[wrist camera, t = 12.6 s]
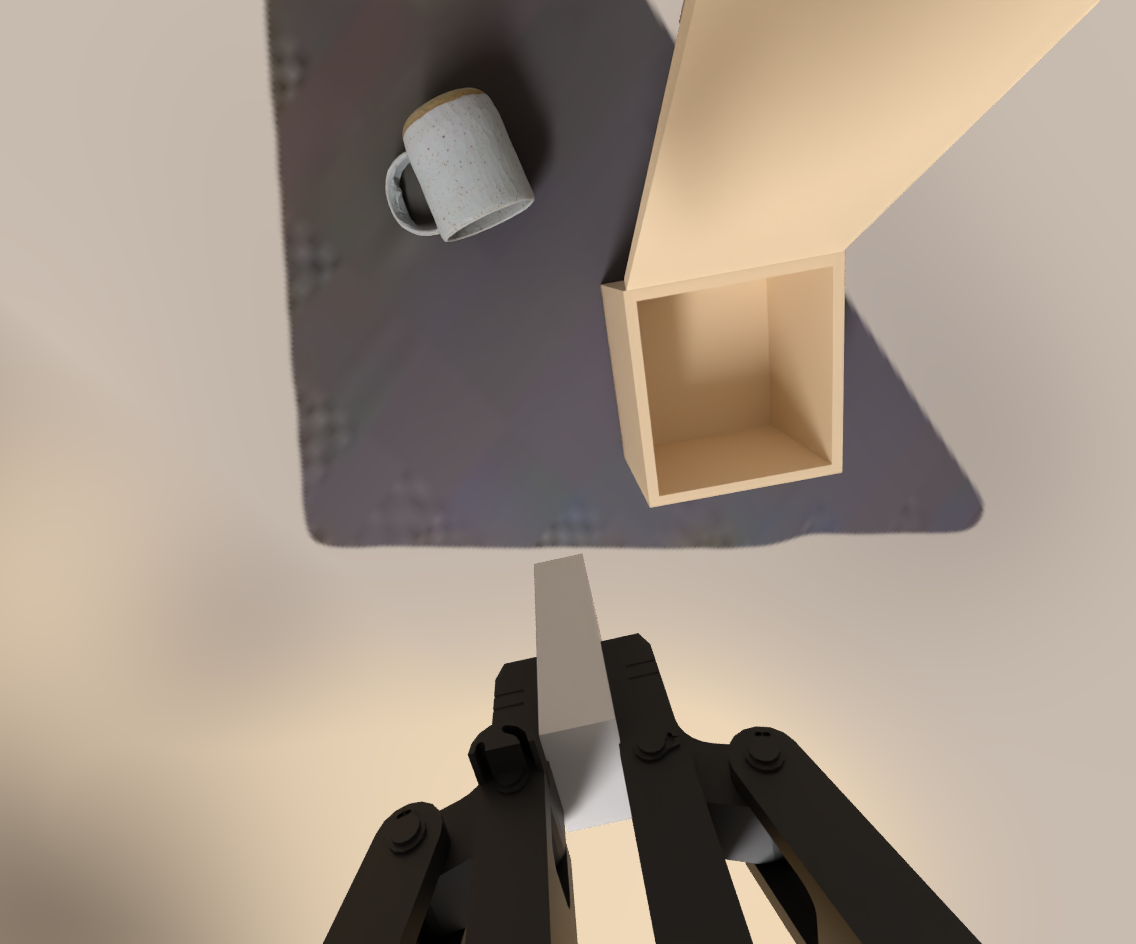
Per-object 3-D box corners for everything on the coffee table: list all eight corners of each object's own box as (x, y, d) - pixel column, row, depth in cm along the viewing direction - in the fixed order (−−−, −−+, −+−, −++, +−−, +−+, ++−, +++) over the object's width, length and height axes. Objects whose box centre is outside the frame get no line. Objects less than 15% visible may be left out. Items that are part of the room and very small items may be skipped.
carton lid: (626, 290, 36) (623, 277, 37) (843, 251, 37) (840, 238, 37) (699, -13, 16) (692, -42, 16) (1204, -102, 16) (1196, -131, 16)
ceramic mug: (490, 98, 42) (481, 65, 35) (536, 205, 45) (536, 196, 38) (369, 161, 43) (336, 142, 36) (422, 262, 46) (401, 263, 39)
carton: (600, 284, 48) (623, 291, 37) (771, 253, 48) (845, 250, 37) (624, 456, 53) (650, 507, 42) (776, 429, 54) (842, 472, 42)
